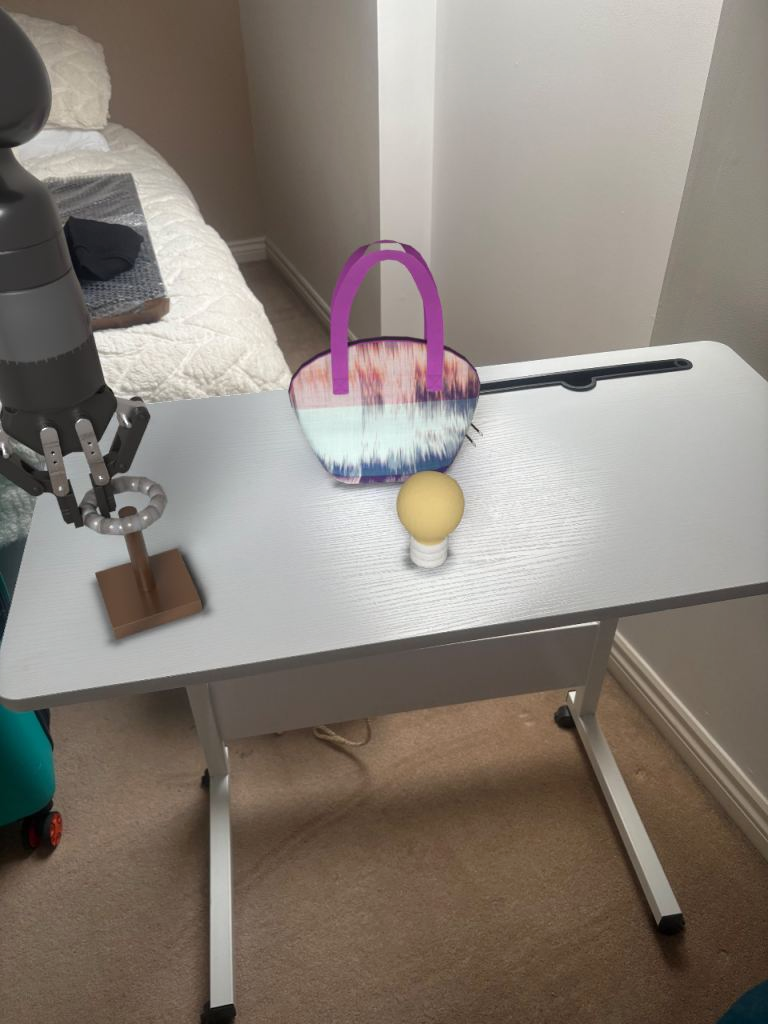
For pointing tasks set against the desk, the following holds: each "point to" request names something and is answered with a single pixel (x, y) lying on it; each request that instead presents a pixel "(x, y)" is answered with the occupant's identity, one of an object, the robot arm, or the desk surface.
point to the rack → (146, 587)
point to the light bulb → (430, 515)
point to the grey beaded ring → (131, 522)
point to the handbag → (385, 388)
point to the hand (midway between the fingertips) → (91, 517)
